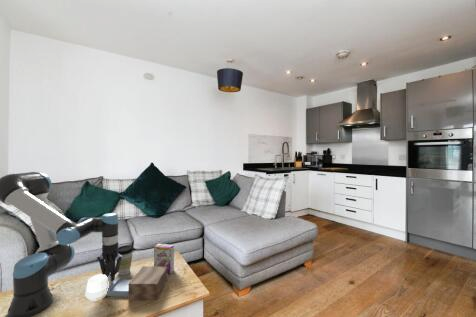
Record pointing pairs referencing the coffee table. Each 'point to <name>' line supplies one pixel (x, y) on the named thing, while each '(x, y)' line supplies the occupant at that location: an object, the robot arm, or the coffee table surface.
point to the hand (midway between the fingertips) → (110, 286)
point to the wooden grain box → (148, 283)
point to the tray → (119, 288)
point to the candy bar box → (164, 256)
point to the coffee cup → (125, 259)
